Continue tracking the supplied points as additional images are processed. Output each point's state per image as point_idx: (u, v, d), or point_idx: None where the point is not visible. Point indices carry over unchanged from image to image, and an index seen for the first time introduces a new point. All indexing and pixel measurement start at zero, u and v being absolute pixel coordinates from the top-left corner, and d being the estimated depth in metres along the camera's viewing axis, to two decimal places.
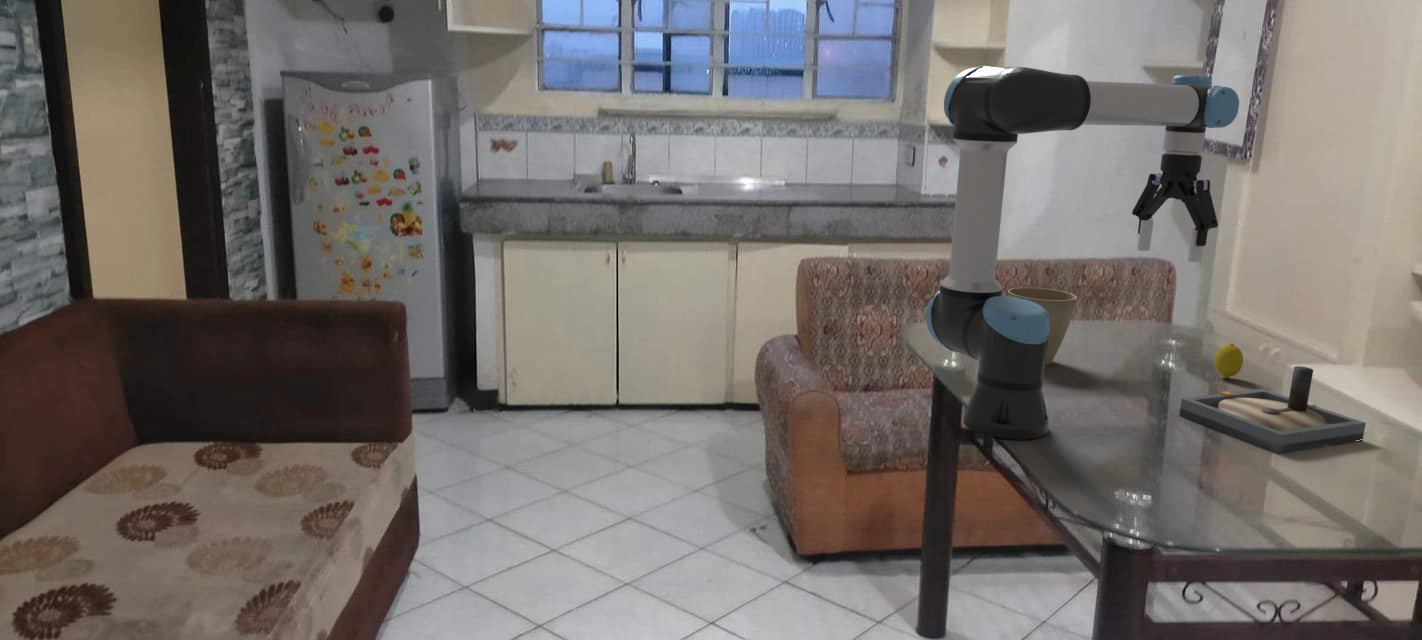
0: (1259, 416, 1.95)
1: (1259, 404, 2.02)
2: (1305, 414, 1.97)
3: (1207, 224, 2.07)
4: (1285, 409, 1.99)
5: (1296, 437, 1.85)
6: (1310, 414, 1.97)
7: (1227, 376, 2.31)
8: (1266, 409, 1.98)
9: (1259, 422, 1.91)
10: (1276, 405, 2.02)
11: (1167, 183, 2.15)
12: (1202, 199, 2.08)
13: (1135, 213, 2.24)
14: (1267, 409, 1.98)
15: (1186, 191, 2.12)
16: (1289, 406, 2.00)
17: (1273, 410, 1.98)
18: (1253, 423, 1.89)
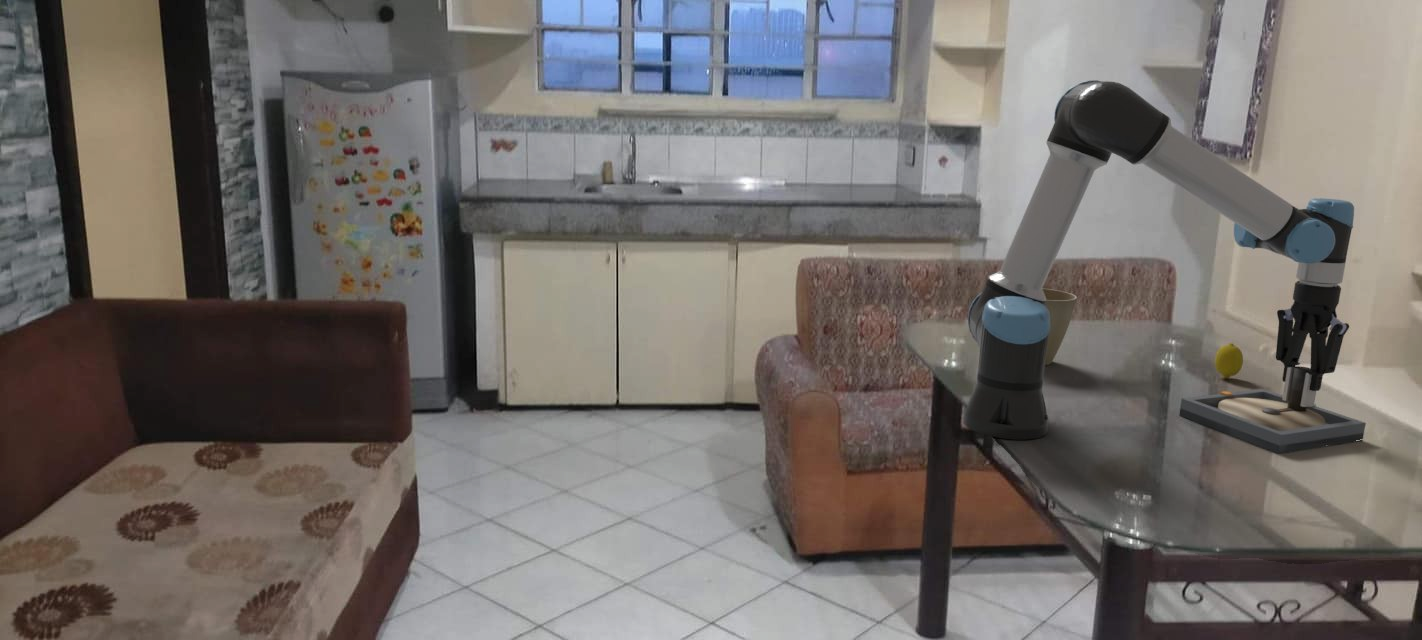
0: (1259, 416, 1.95)
1: (1259, 404, 2.02)
2: (1305, 414, 1.97)
3: (1324, 370, 1.93)
4: (1285, 409, 1.99)
5: (1296, 437, 1.85)
6: (1310, 414, 1.97)
7: (1227, 376, 2.31)
8: (1266, 409, 1.98)
9: (1259, 422, 1.91)
10: (1276, 405, 2.02)
11: (1300, 313, 1.96)
12: (1332, 345, 1.92)
13: (1280, 357, 2.02)
14: (1267, 409, 1.98)
15: (1319, 328, 1.94)
16: (1289, 406, 2.00)
17: (1273, 410, 1.98)
18: (1253, 423, 1.89)
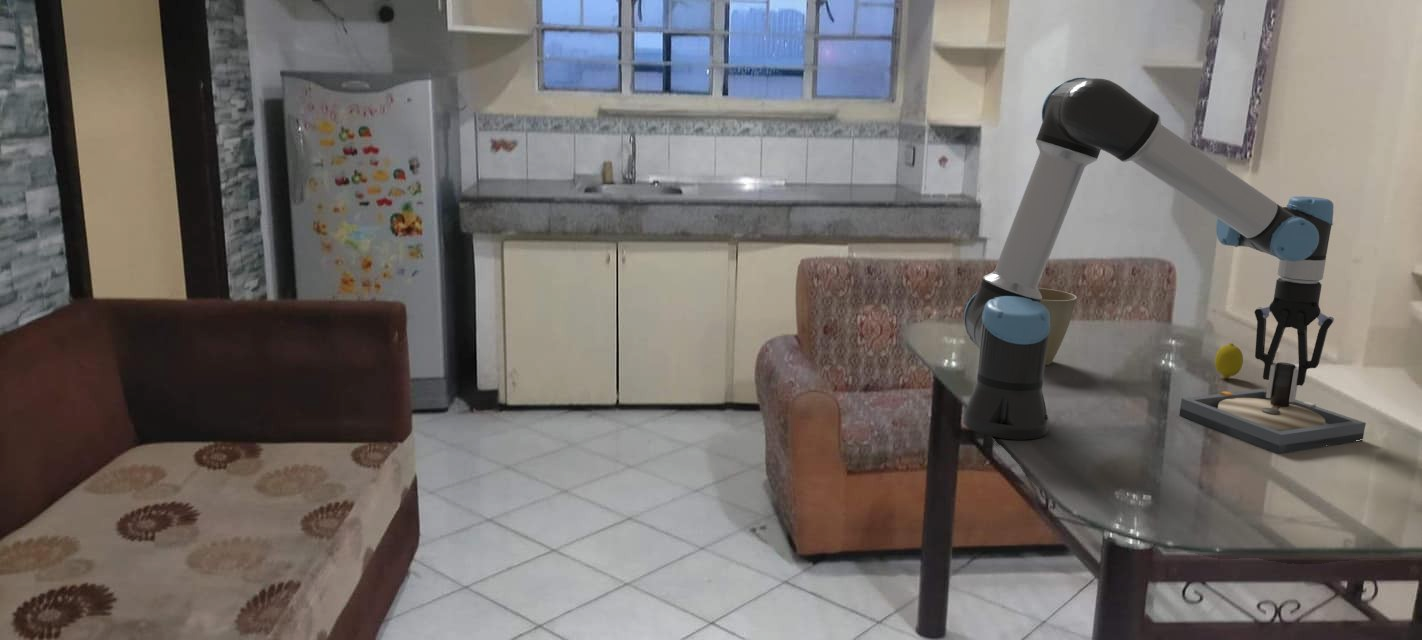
0: (1272, 418, 1.94)
1: (1249, 404, 2.02)
2: (1295, 409, 2.00)
3: (1315, 365, 1.97)
4: (1276, 406, 2.00)
5: (1296, 437, 1.85)
6: (1298, 409, 2.00)
7: (1227, 376, 2.31)
8: (1266, 410, 1.98)
9: (1283, 426, 1.90)
10: (1261, 403, 2.03)
11: (1286, 311, 1.98)
12: (1323, 339, 1.96)
13: (1260, 356, 2.02)
14: (1267, 409, 1.98)
15: (1305, 324, 1.97)
16: (1275, 403, 2.02)
17: (1273, 410, 1.98)
18: (1253, 423, 1.89)
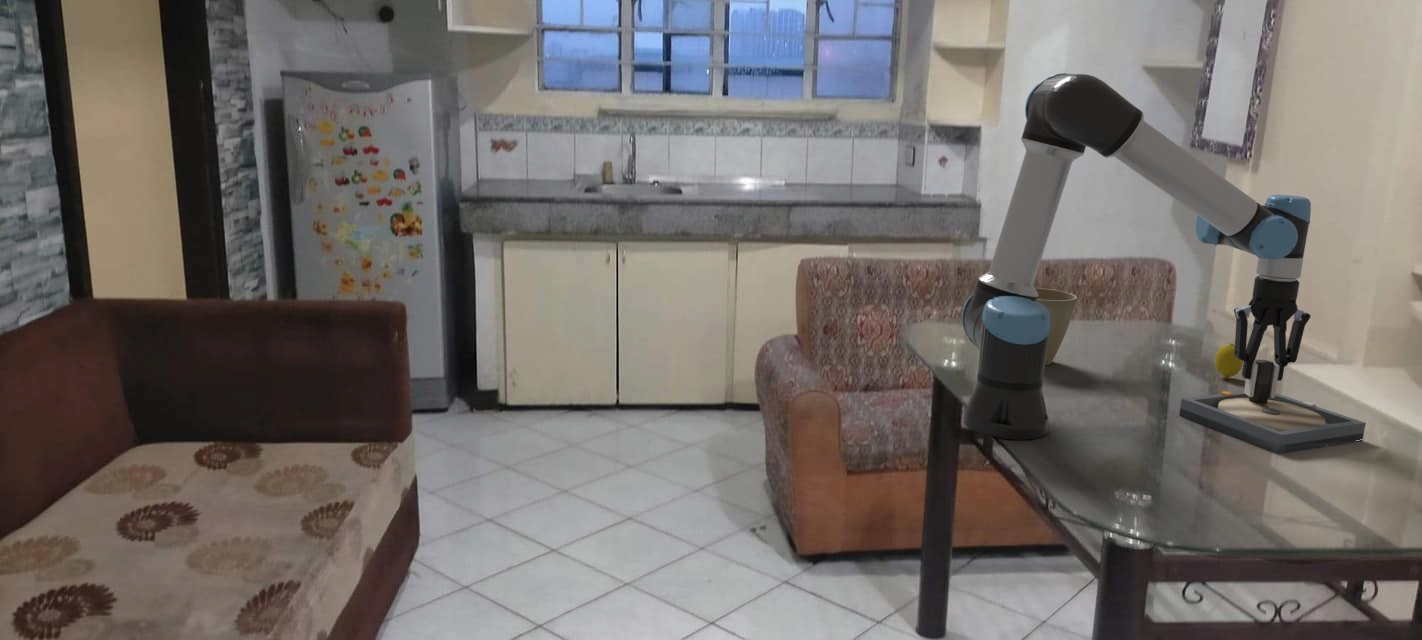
0: (1285, 419, 1.93)
1: (1242, 406, 2.00)
2: (1277, 404, 2.03)
3: (1294, 359, 2.01)
4: (1264, 405, 2.01)
5: (1296, 437, 1.85)
6: (1278, 403, 2.03)
7: (1227, 376, 2.31)
8: (1268, 410, 1.97)
9: (1308, 426, 1.90)
10: (1246, 403, 2.03)
11: (1271, 310, 1.98)
12: (1302, 334, 1.99)
13: (1244, 356, 2.02)
14: (1268, 410, 1.97)
15: None
16: (1258, 401, 2.03)
17: (1271, 409, 1.98)
18: (1253, 423, 1.89)
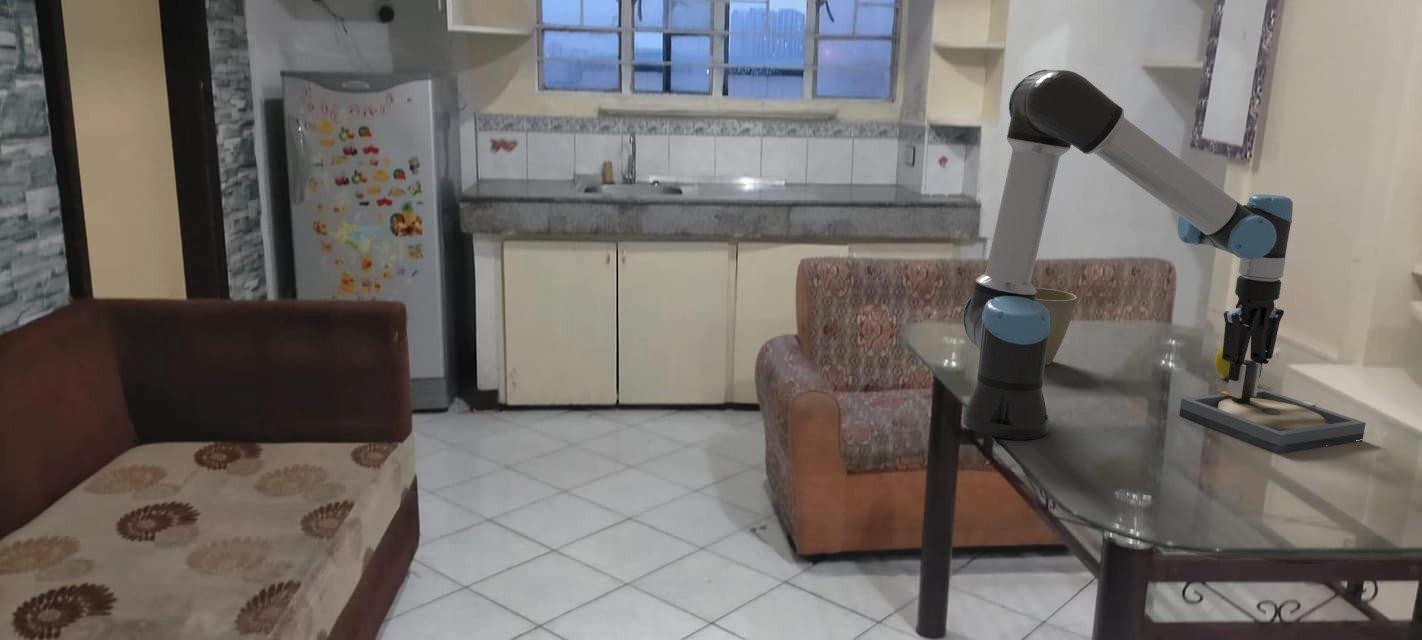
0: (1295, 418, 1.94)
1: (1244, 410, 1.98)
2: (1258, 402, 2.04)
3: (1271, 355, 2.03)
4: (1254, 405, 2.01)
5: (1296, 437, 1.85)
6: (1256, 400, 2.05)
7: (1227, 376, 2.31)
8: (1270, 411, 1.97)
9: (1320, 423, 1.92)
10: (1238, 405, 2.01)
11: (1259, 310, 1.98)
12: (1277, 330, 2.02)
13: (1236, 359, 1.99)
14: (1270, 410, 1.97)
15: None
16: (1245, 401, 2.02)
17: (1270, 409, 1.98)
18: (1253, 423, 1.89)
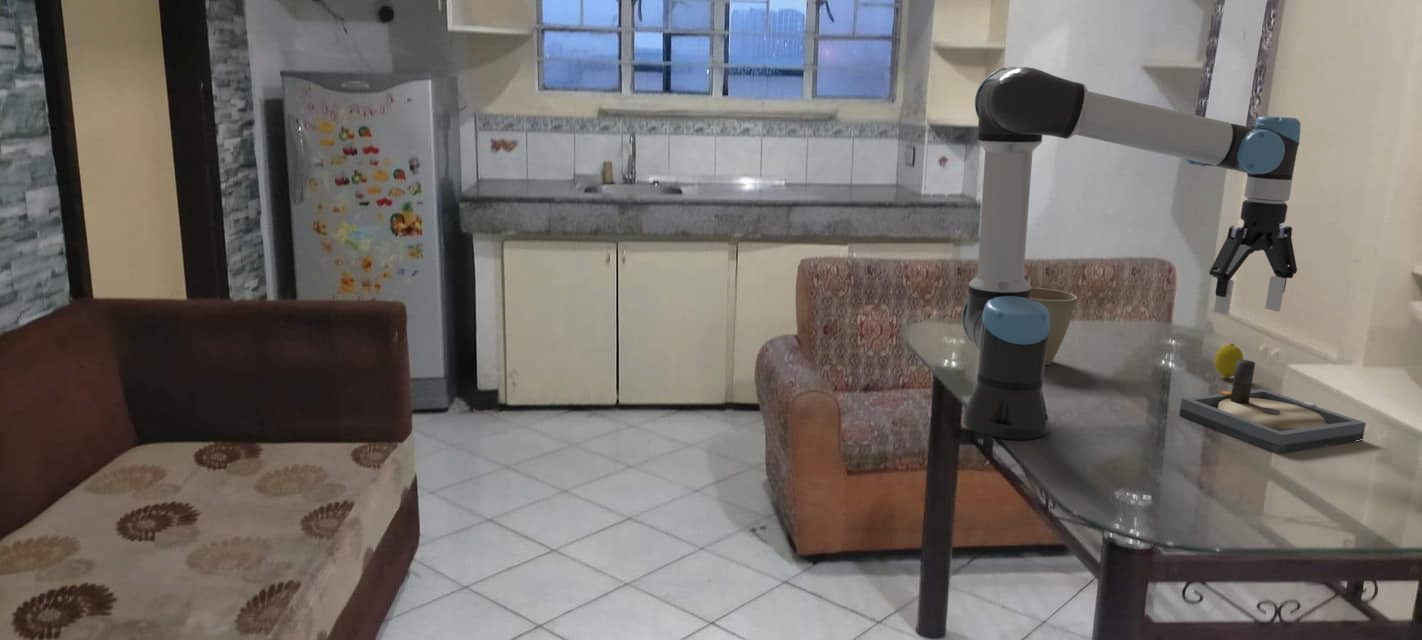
0: (1295, 418, 1.94)
1: (1244, 410, 1.98)
2: (1257, 402, 2.04)
3: (1296, 270, 2.01)
4: (1253, 405, 2.01)
5: (1296, 437, 1.85)
6: (1255, 400, 2.05)
7: (1227, 376, 2.31)
8: (1271, 411, 1.97)
9: (1321, 422, 1.92)
10: (1238, 405, 2.01)
11: (1265, 235, 1.95)
12: (1292, 246, 1.99)
13: (1223, 275, 1.94)
14: (1270, 411, 1.97)
15: None
16: (1244, 401, 2.02)
17: (1270, 409, 1.98)
18: (1253, 423, 1.89)
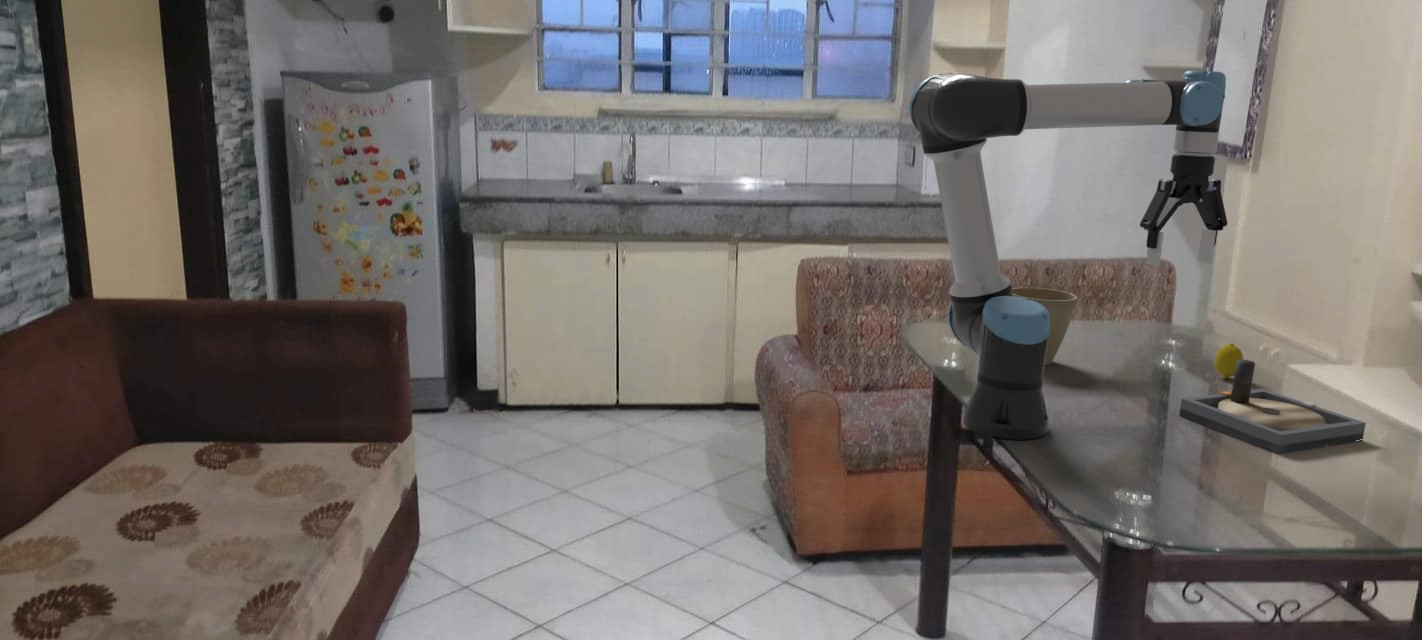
0: (1295, 418, 1.94)
1: (1244, 410, 1.98)
2: (1257, 402, 2.04)
3: (1226, 222, 2.05)
4: (1253, 405, 2.01)
5: (1296, 437, 1.85)
6: (1255, 400, 2.05)
7: (1227, 376, 2.31)
8: (1271, 411, 1.97)
9: (1321, 422, 1.92)
10: (1238, 405, 2.01)
11: (1194, 187, 1.99)
12: None
13: (1153, 226, 1.98)
14: (1270, 411, 1.97)
15: None
16: (1244, 401, 2.02)
17: (1270, 409, 1.98)
18: (1253, 423, 1.89)
